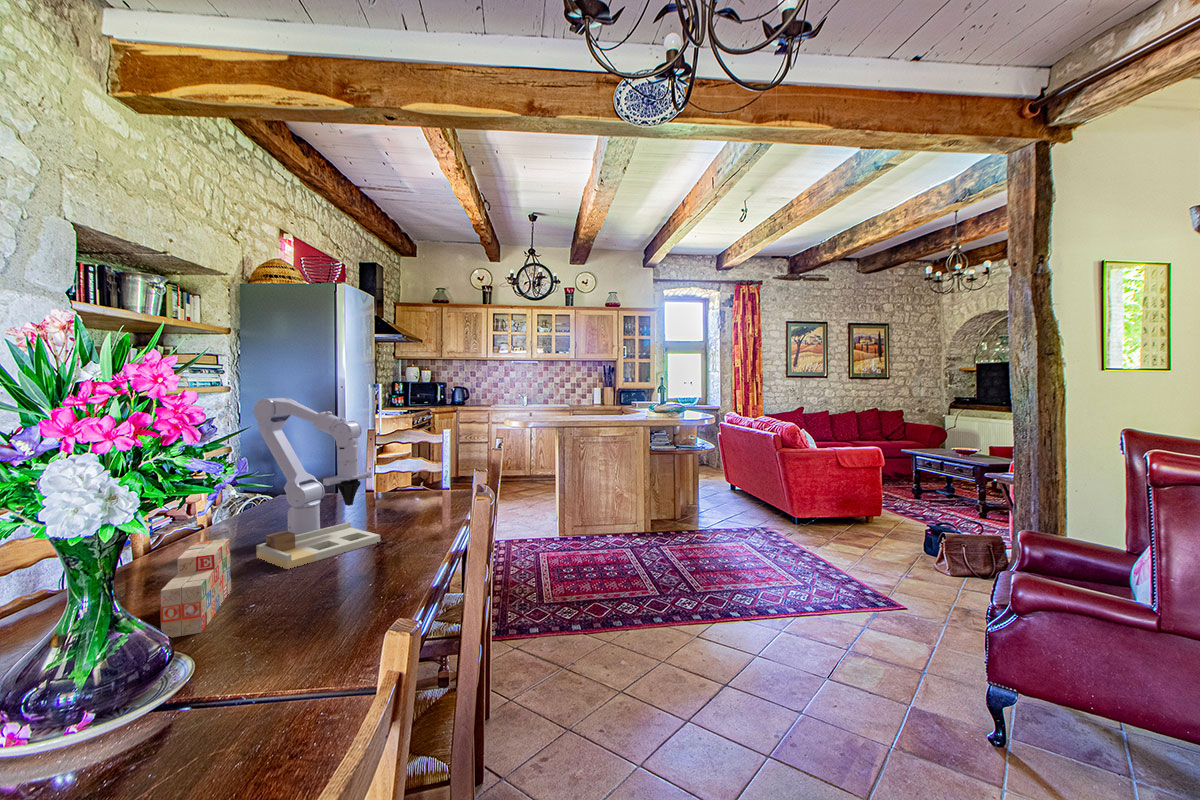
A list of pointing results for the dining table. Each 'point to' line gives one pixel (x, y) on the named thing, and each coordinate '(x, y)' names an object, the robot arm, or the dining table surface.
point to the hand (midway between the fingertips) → (348, 504)
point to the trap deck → (318, 545)
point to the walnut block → (281, 541)
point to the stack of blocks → (196, 588)
